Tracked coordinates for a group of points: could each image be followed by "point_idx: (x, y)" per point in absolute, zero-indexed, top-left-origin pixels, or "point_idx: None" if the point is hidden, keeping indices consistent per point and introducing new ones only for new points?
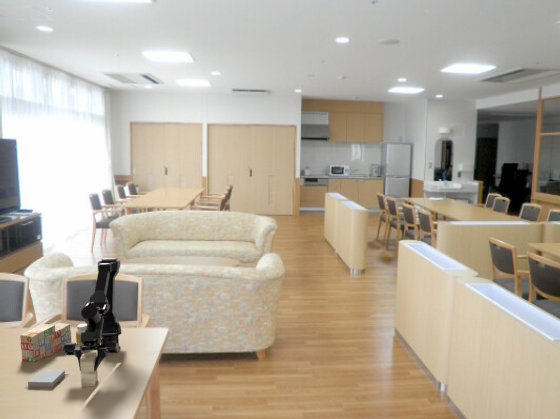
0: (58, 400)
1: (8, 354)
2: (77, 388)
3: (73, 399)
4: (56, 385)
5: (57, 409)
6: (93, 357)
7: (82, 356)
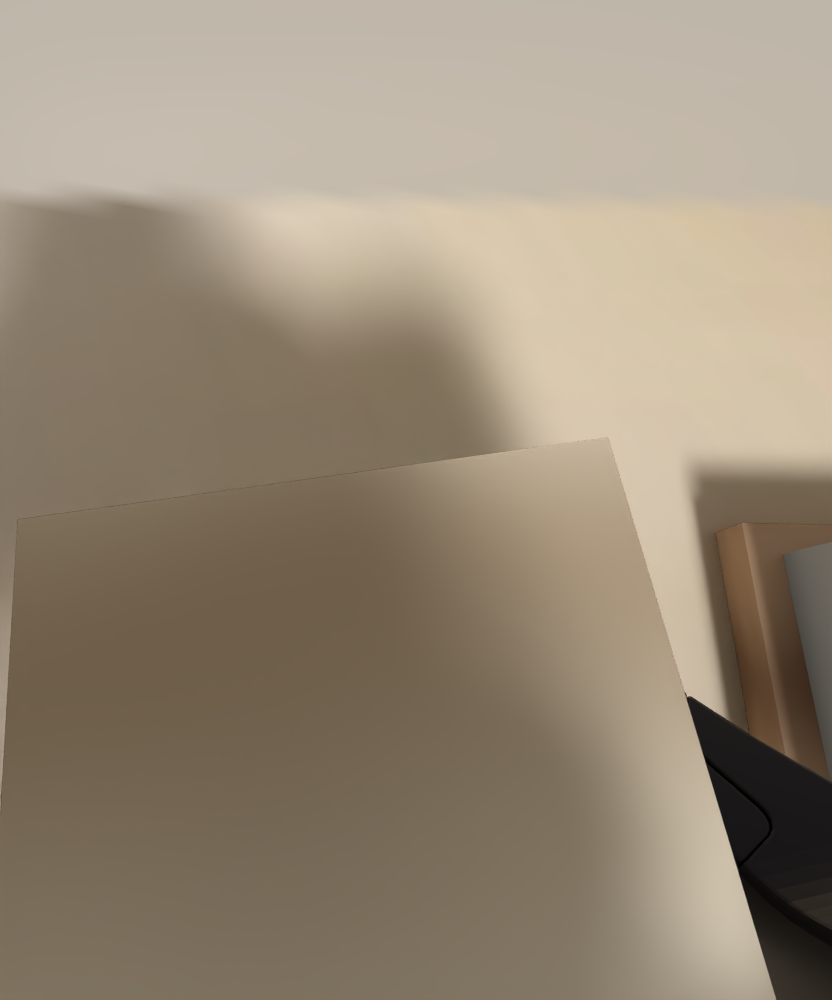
0: (577, 389)
1: None
2: None
3: (442, 408)
4: (772, 604)
5: (501, 261)
6: (32, 605)
7: (599, 629)
